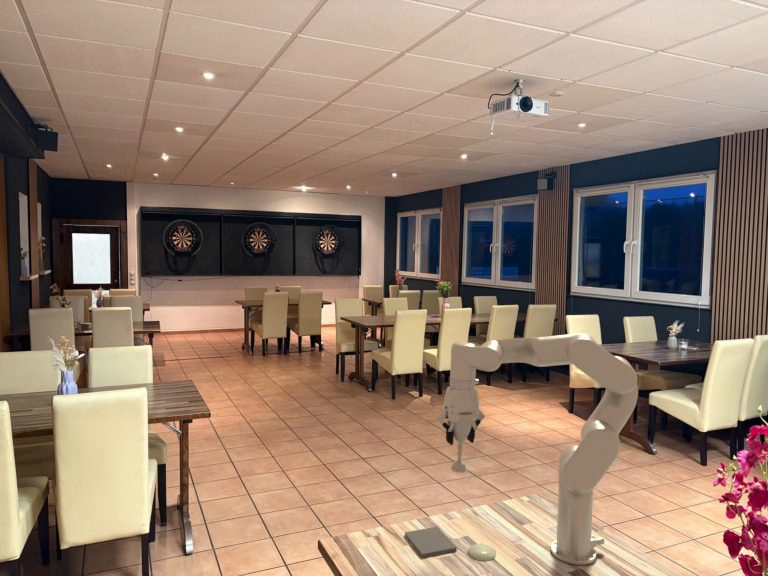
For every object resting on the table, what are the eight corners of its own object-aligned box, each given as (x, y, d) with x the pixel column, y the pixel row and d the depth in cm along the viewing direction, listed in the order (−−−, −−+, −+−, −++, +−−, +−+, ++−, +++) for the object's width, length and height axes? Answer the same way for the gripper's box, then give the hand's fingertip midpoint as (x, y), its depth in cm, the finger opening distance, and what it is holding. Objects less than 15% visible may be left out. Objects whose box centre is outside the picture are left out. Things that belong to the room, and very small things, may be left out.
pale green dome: (483, 543, 171) (483, 541, 171) (501, 556, 164) (502, 554, 164) (462, 551, 167) (462, 548, 166) (480, 564, 160) (481, 562, 160)
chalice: (471, 465, 175) (473, 408, 174) (471, 474, 169) (474, 415, 167) (447, 464, 176) (449, 407, 175) (446, 472, 169) (449, 413, 168)
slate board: (437, 529, 178) (437, 526, 178) (456, 550, 166) (456, 547, 166) (404, 535, 175) (404, 532, 175) (422, 557, 162) (422, 554, 162)
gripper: (482, 379, 177) (479, 435, 178) (431, 382, 171) (428, 440, 172) (494, 385, 169) (491, 444, 171) (441, 388, 164) (439, 449, 165)
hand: (460, 441), depth 172 cm, fingers closed on chalice, 6 cm apart
